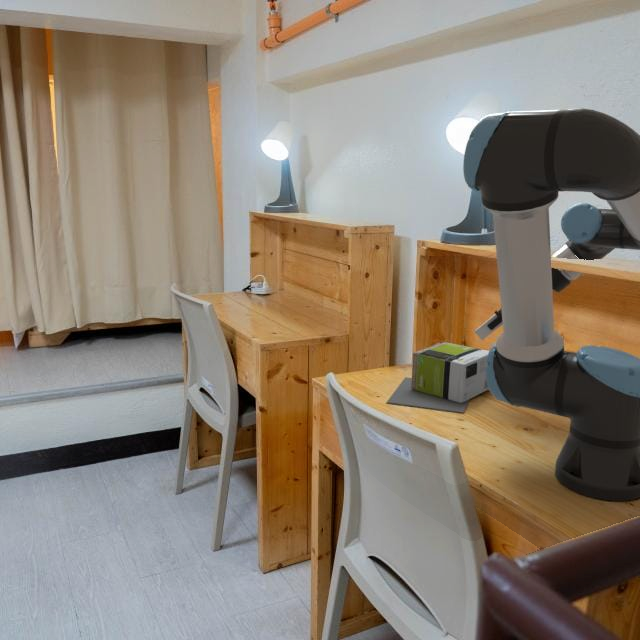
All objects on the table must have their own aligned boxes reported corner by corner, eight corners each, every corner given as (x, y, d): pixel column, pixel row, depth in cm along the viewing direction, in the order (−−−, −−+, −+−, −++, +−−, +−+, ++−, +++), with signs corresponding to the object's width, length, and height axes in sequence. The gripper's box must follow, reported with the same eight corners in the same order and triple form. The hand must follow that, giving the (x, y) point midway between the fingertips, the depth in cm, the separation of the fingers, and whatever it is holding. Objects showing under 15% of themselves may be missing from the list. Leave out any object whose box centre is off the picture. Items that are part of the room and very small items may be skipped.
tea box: (492, 390, 158) (442, 376, 168) (496, 351, 156) (445, 339, 166) (461, 404, 147) (409, 389, 157) (464, 364, 145) (411, 350, 155)
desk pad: (463, 413, 143) (463, 412, 143) (386, 403, 149) (386, 402, 149) (474, 386, 161) (474, 385, 161) (405, 378, 167) (405, 377, 167)
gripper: (573, 286, 132) (486, 354, 142) (571, 277, 144) (492, 340, 153) (548, 260, 133) (463, 329, 142) (549, 253, 145) (471, 317, 154)
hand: (478, 335), depth 148 cm, fingers closed
